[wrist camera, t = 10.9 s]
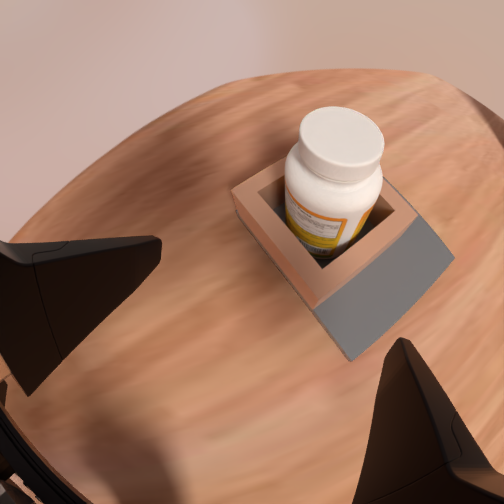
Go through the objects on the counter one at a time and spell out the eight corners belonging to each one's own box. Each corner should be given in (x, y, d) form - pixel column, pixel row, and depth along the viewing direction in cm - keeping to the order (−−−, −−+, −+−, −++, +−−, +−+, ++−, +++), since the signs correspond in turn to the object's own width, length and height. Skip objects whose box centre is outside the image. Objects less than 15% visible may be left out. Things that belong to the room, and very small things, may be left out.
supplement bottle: (338, 188, 21) (361, 91, 12) (367, 247, 19) (420, 165, 10) (275, 207, 21) (266, 108, 12) (300, 271, 19) (313, 194, 10)
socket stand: (449, 261, 18) (477, 240, 14) (348, 361, 17) (366, 362, 13) (344, 149, 24) (351, 115, 19) (237, 216, 22) (226, 185, 18)
